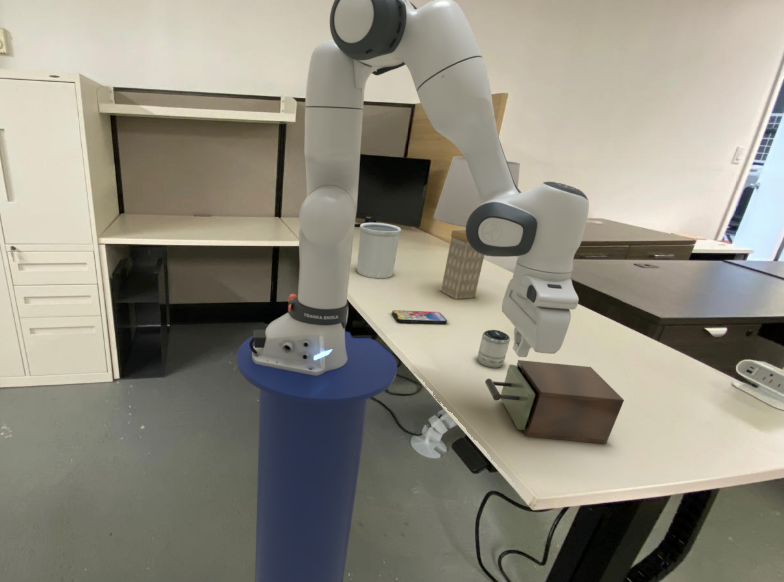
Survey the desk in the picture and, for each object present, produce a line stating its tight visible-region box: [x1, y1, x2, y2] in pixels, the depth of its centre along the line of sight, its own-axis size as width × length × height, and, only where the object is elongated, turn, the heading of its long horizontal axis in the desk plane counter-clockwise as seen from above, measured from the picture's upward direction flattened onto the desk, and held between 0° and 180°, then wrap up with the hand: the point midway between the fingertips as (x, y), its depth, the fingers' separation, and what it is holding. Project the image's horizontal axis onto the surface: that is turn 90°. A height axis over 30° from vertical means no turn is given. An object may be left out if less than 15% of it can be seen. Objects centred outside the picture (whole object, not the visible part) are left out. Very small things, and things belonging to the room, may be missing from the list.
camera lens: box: [477, 329, 511, 369], centre depth 112 cm, size 6×6×8 cm
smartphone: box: [391, 309, 448, 325], centre depth 137 cm, size 7×1×15 cm
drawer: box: [484, 364, 538, 431], centre depth 90 cm, size 18×11×8 cm, turn 87°
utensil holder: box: [356, 222, 402, 279], centre depth 173 cm, size 15×15×18 cm
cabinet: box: [515, 359, 625, 445], centre depth 90 cm, size 15×13×10 cm
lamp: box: [433, 156, 521, 300], centre depth 152 cm, size 25×25×44 cm
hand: (519, 353), depth 86 cm, fingers closed
